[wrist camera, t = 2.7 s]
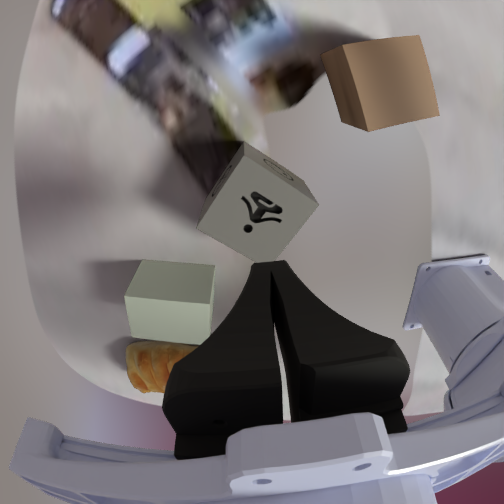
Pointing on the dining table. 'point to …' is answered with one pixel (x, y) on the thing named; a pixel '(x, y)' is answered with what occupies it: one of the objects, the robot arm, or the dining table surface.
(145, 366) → the pastry
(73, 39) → the dining table surface
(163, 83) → the dining table surface
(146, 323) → the grey-green block
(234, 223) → the grey symbol cube
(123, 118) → the dining table surface
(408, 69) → the walnut block
